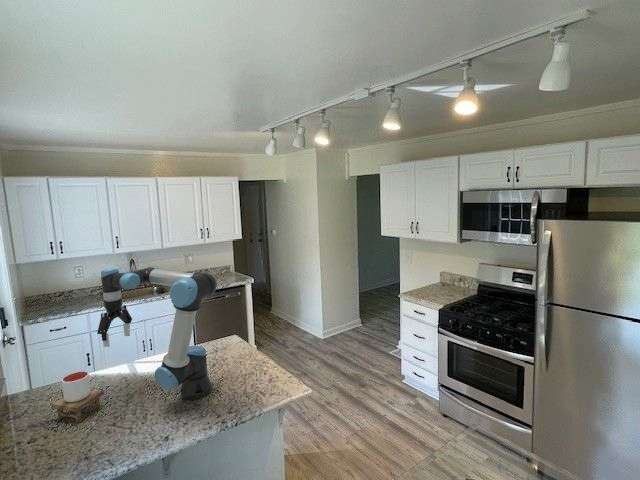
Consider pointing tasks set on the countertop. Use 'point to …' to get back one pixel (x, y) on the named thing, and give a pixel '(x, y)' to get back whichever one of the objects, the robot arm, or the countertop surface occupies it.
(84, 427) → the countertop surface
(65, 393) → the cup
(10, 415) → the countertop surface
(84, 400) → the stool
